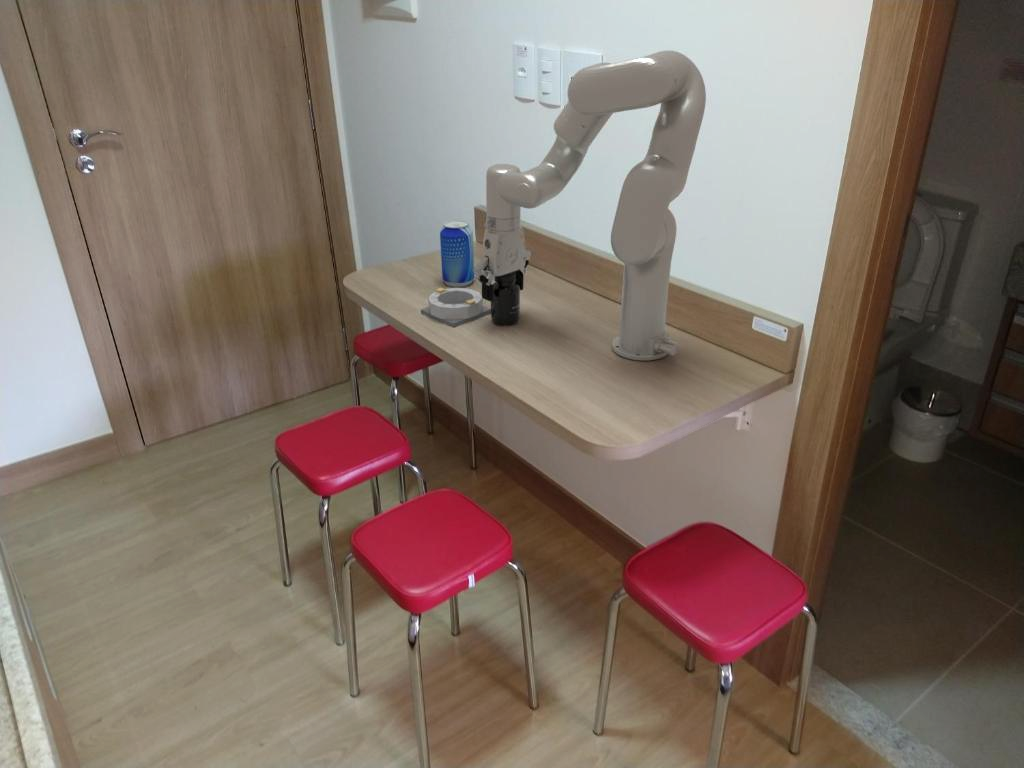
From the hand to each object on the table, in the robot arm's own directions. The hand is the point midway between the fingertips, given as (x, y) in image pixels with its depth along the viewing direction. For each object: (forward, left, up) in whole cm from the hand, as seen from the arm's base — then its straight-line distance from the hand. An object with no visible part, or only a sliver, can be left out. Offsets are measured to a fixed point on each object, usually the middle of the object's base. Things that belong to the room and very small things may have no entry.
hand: (502, 294), depth 184 cm
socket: (+11, +5, -7) cm, 14 cm away
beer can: (+26, -9, -7) cm, 29 cm away
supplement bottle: (-1, 0, -7) cm, 7 cm away
